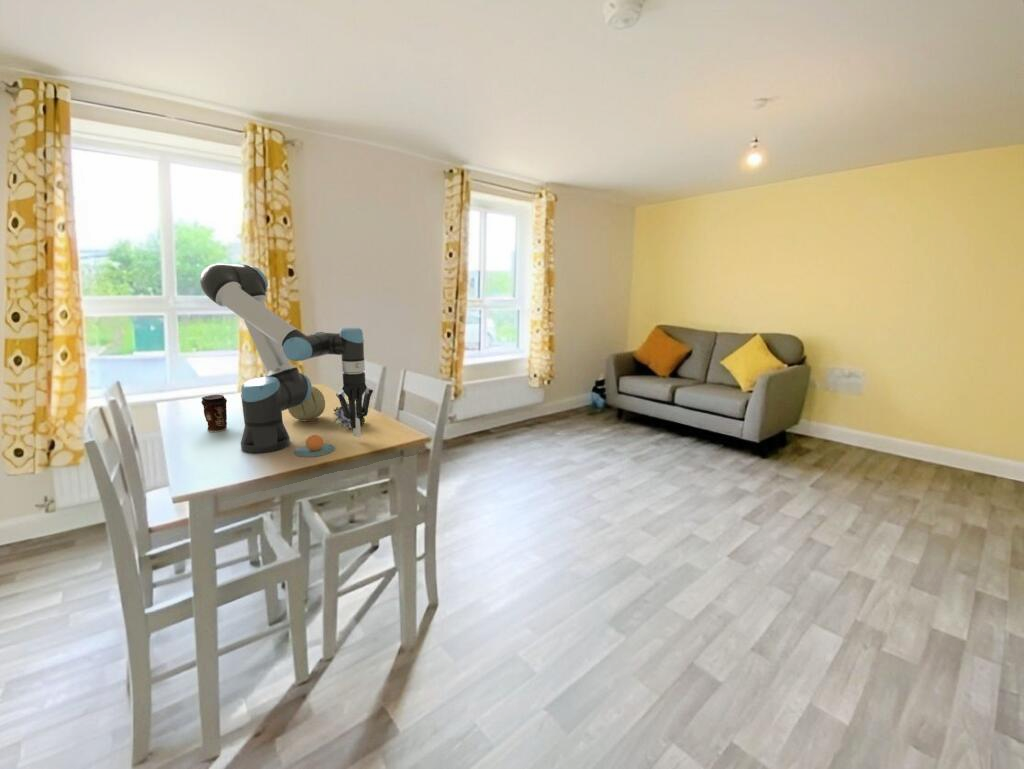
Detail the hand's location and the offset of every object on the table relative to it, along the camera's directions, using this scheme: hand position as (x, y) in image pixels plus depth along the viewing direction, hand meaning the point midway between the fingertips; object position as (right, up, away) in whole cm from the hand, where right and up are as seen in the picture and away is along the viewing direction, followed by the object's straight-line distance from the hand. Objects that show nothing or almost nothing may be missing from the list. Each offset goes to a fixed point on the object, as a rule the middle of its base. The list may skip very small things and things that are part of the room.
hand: (357, 435), depth 170 cm
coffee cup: (-57, +1, +10) cm, 58 cm away
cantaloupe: (-28, +4, +24) cm, 38 cm away
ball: (-11, -1, -10) cm, 15 cm away
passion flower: (-9, +2, +18) cm, 20 cm away
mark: (-11, -4, -10) cm, 15 cm away
